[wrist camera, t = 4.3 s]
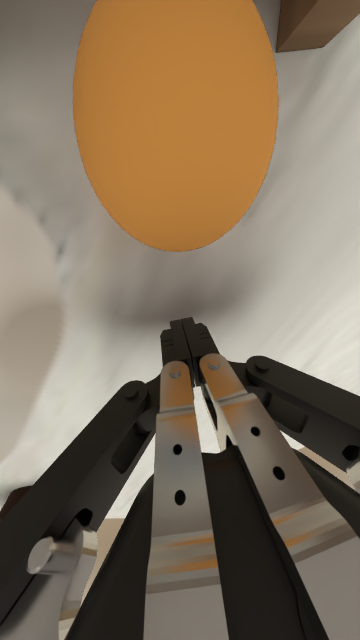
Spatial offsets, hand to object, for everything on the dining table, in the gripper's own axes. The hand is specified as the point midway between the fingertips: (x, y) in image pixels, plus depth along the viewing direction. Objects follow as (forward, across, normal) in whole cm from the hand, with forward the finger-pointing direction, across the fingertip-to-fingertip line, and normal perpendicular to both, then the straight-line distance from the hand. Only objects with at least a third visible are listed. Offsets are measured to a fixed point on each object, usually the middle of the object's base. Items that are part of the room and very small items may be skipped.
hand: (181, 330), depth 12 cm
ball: (-2, -1, -8) cm, 8 cm away
